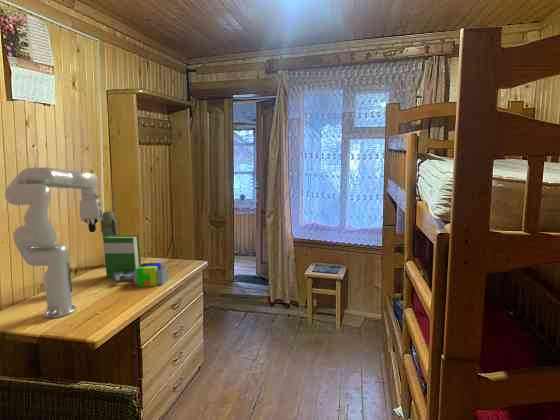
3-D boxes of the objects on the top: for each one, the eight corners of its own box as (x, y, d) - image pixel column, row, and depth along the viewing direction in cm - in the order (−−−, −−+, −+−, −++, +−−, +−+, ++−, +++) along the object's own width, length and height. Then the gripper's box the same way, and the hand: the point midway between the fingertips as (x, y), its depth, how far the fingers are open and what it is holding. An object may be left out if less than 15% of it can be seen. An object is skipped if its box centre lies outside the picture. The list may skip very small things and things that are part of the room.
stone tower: (116, 267, 244) (111, 213, 239) (100, 266, 246) (95, 212, 242) (125, 263, 252) (120, 211, 247) (109, 262, 255) (105, 210, 250)
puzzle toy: (161, 279, 216) (160, 262, 215) (156, 285, 206) (155, 267, 205) (144, 280, 216) (142, 263, 215) (138, 286, 206) (136, 268, 205)
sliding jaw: (138, 285, 207) (137, 271, 206) (115, 286, 207) (114, 271, 206) (143, 280, 216) (142, 266, 215) (122, 280, 216) (120, 267, 214)
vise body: (162, 284, 207) (161, 270, 206) (106, 286, 207) (105, 272, 205) (168, 278, 219) (167, 264, 218) (115, 280, 218) (114, 266, 217)
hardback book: (141, 274, 227) (138, 235, 223) (136, 278, 219) (132, 237, 216) (113, 274, 228) (110, 235, 225) (106, 278, 221) (103, 237, 218)
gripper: (106, 196, 204) (109, 230, 206) (78, 196, 204) (81, 230, 206) (100, 197, 197) (103, 232, 199) (71, 198, 196) (74, 233, 199)
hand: (92, 231), depth 202 cm, fingers closed
